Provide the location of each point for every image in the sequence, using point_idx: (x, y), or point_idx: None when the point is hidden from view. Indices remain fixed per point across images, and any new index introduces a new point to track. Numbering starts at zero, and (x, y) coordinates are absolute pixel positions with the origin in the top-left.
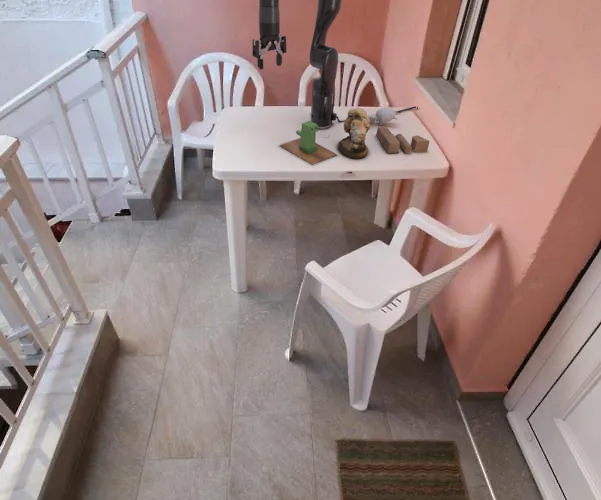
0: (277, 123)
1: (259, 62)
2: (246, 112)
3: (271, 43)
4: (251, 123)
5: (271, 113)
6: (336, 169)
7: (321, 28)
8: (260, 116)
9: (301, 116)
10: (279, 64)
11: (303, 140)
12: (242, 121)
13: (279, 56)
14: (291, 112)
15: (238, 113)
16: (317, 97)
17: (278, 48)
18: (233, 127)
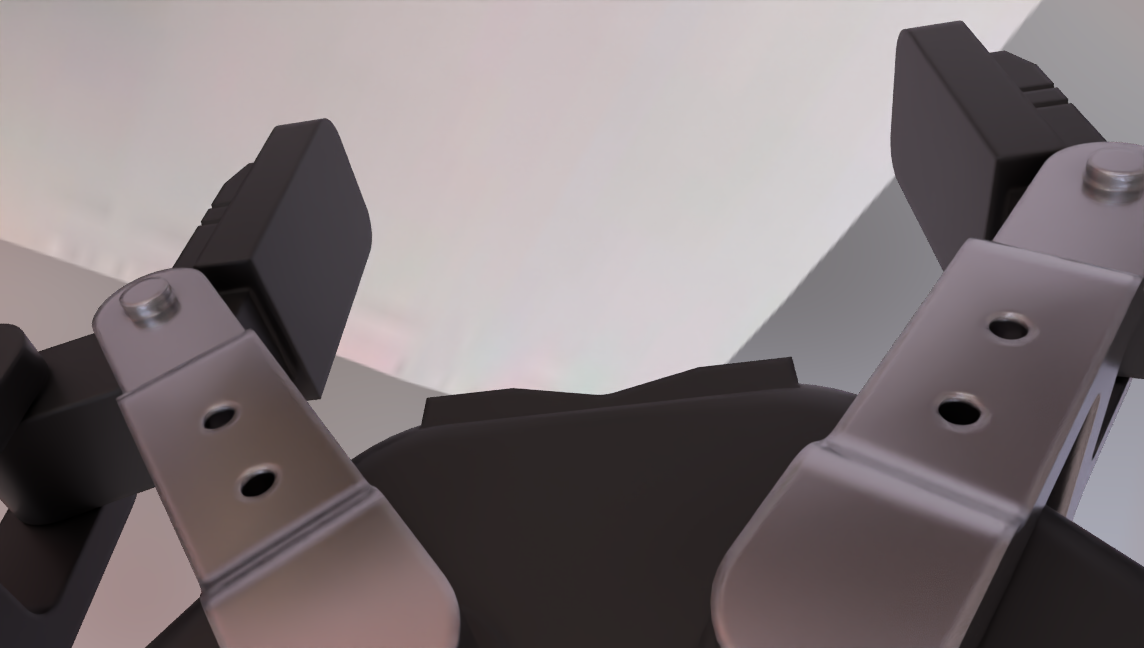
0: (407, 57)
1: (1092, 128)
2: (561, 347)
3: (602, 642)
4: (627, 157)
5: (378, 260)
6: None
7: None
8: (490, 246)
9: (127, 99)
10: (322, 137)
11: None
12: (674, 222)
13: (261, 258)
14: (199, 211)
15: (625, 355)
16: None
17: (233, 401)
18: (807, 150)
